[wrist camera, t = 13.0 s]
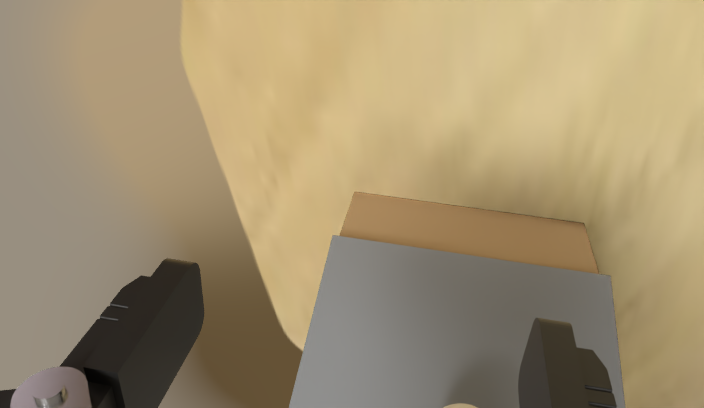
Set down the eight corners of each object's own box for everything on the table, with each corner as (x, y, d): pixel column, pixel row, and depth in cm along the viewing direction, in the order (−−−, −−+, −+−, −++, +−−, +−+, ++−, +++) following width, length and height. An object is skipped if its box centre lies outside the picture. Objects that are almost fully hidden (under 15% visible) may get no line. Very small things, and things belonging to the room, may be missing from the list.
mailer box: (583, 223, 50) (601, 281, 43) (541, 355, 58) (550, 421, 51) (354, 191, 52) (337, 242, 45) (345, 323, 60) (330, 382, 54)
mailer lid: (606, 282, 43) (642, 226, 37) (635, 562, 32) (693, 539, 26) (333, 242, 45) (329, 183, 40) (271, 488, 34) (255, 453, 29)
